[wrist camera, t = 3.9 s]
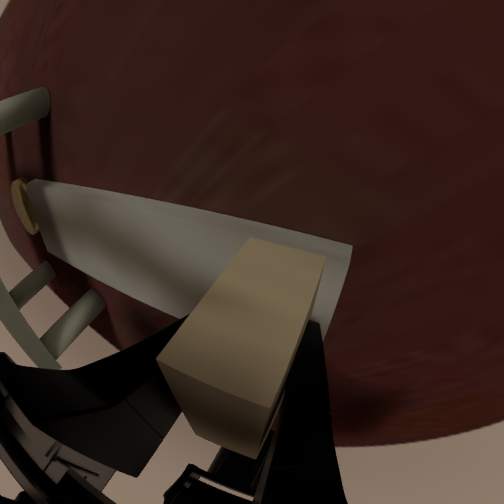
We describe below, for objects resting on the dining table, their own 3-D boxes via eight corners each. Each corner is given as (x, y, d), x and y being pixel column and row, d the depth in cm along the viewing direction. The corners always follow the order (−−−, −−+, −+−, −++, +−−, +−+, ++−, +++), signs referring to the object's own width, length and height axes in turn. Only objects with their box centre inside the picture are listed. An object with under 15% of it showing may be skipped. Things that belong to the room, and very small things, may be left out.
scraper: (318, 349, 12) (274, 465, 8) (56, 244, 18) (5, 286, 14) (352, 245, 9) (308, 420, 4) (35, 178, 15) (-27, 218, 10)
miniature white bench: (111, 313, 20) (50, 380, 14) (49, 274, 23) (1, 319, 17) (50, 79, 9) (-73, 132, 3) (2, 109, 13) (-71, 147, 7)
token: (52, 228, 17) (41, 236, 16) (34, 227, 19) (25, 233, 18) (32, 170, 15) (20, 177, 14) (17, 178, 17) (7, 184, 16)
